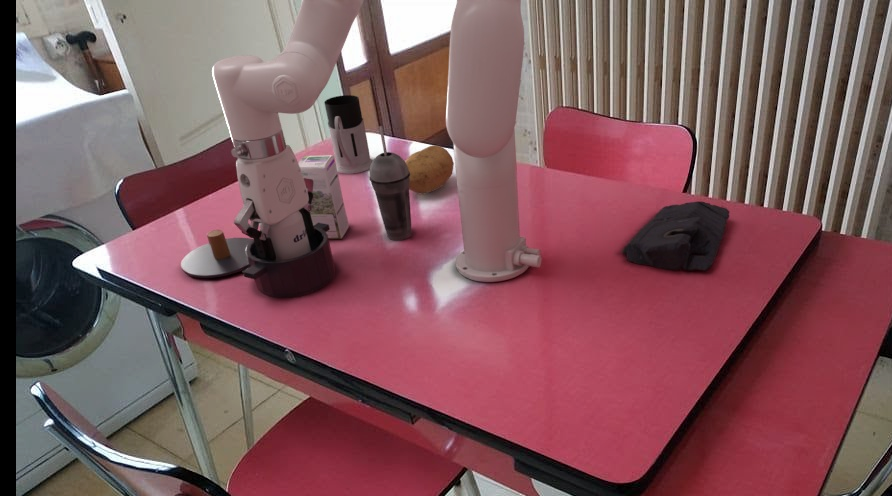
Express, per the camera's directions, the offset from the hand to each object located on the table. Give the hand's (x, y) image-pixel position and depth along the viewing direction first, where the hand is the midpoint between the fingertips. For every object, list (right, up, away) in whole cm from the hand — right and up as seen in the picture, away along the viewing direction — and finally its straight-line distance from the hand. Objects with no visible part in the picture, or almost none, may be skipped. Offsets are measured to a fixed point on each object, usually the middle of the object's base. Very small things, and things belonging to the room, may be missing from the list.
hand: (288, 246), depth 115 cm
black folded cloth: (+67, +2, +5) cm, 67 cm away
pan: (0, -5, +4) cm, 6 cm away
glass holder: (+2, +24, +43) cm, 49 cm away
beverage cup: (+17, +4, +14) cm, 22 cm away
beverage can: (0, -5, +3) cm, 6 cm away
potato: (+20, +17, +31) cm, 40 cm away
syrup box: (+3, +5, +17) cm, 18 cm away
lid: (-15, -1, +10) cm, 18 cm away
